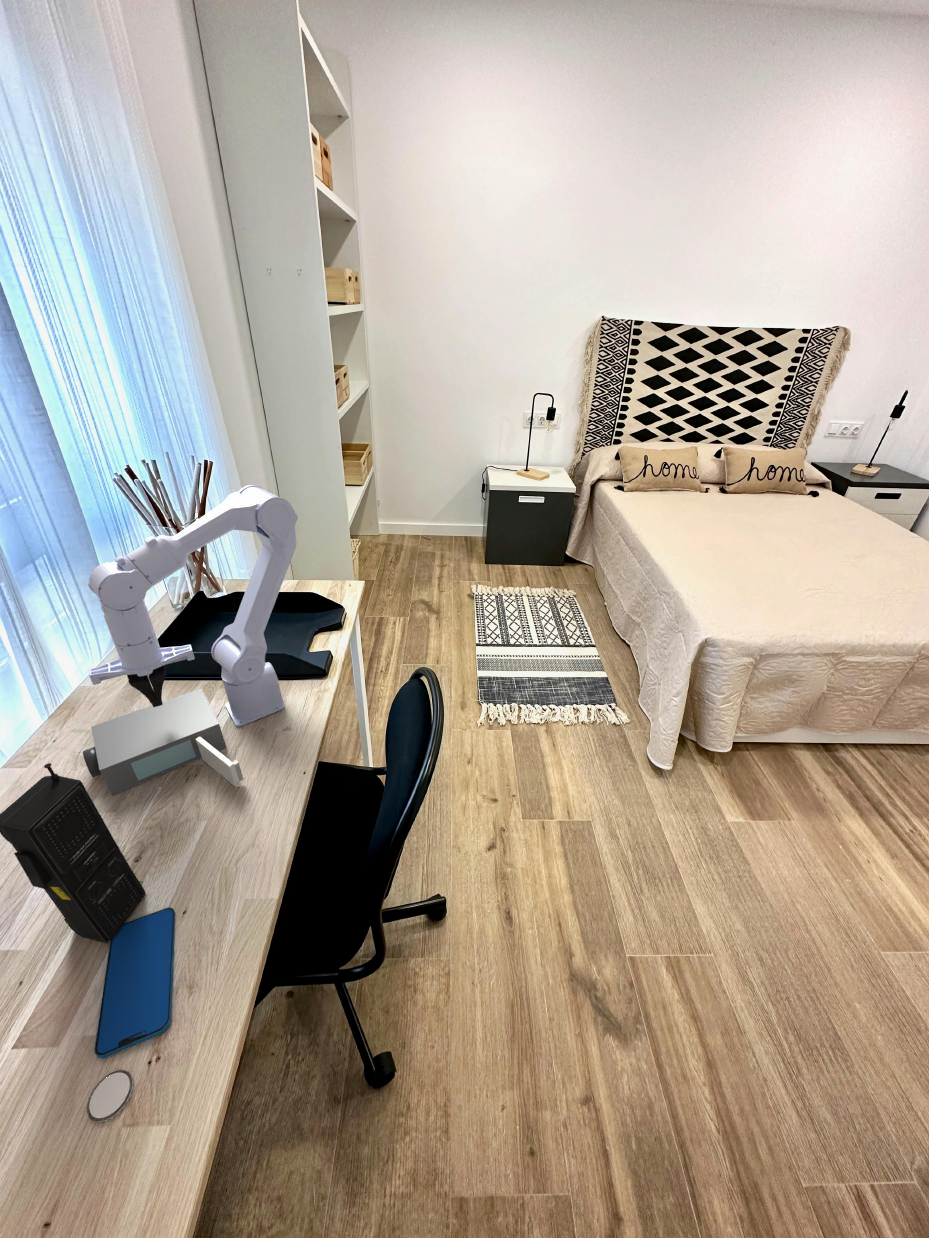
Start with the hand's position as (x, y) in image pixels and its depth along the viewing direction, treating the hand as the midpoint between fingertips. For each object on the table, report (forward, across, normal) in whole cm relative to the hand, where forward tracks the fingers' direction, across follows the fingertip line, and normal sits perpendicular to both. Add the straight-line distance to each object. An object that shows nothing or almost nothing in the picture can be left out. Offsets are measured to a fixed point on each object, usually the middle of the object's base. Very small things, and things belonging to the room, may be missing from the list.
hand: (157, 702), depth 87 cm
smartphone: (+11, -8, -39) cm, 41 cm away
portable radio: (+11, -11, -29) cm, 33 cm away
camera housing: (+10, -1, 0) cm, 10 cm away
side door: (+10, +7, -11) cm, 16 cm away
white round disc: (+11, -11, -50) cm, 52 cm away
